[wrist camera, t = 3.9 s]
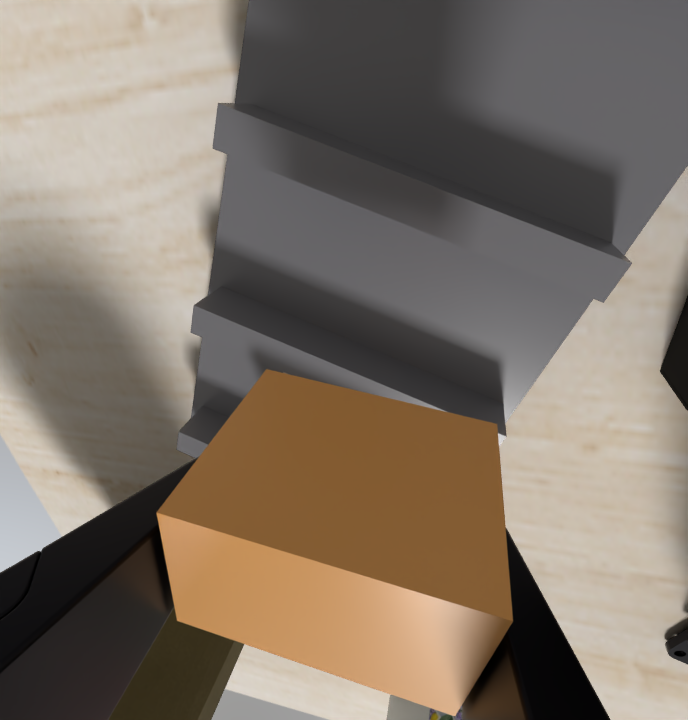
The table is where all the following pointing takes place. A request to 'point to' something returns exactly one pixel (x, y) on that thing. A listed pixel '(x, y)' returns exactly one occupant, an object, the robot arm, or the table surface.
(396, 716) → the ink box
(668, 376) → the external hard drive
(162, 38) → the table surface
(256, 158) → the grey ridged tray
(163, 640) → the canister
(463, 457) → the orange block
